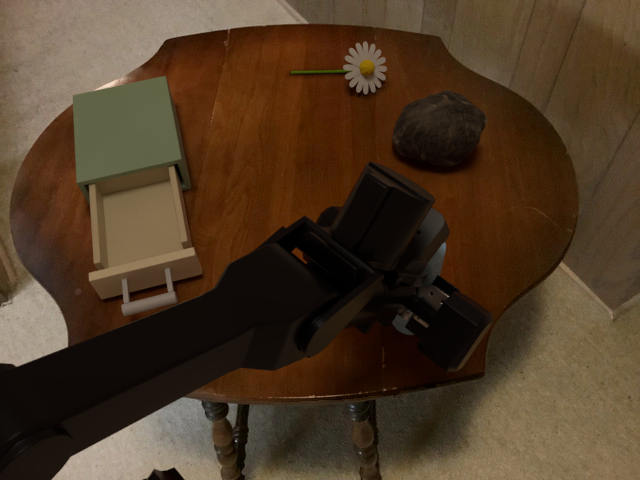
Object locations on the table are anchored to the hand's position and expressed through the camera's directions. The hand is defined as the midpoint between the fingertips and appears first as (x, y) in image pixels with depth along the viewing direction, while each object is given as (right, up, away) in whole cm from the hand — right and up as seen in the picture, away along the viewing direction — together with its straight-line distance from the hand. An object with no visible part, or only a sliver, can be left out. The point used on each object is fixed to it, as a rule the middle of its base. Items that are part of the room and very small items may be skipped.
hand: (424, 278), depth 62 cm
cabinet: (-37, +16, +24) cm, 47 cm away
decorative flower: (-8, +28, +31) cm, 42 cm away
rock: (+5, +16, +22) cm, 28 cm away
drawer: (-33, +3, +13) cm, 35 cm away
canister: (-1, -5, +5) cm, 7 cm away
